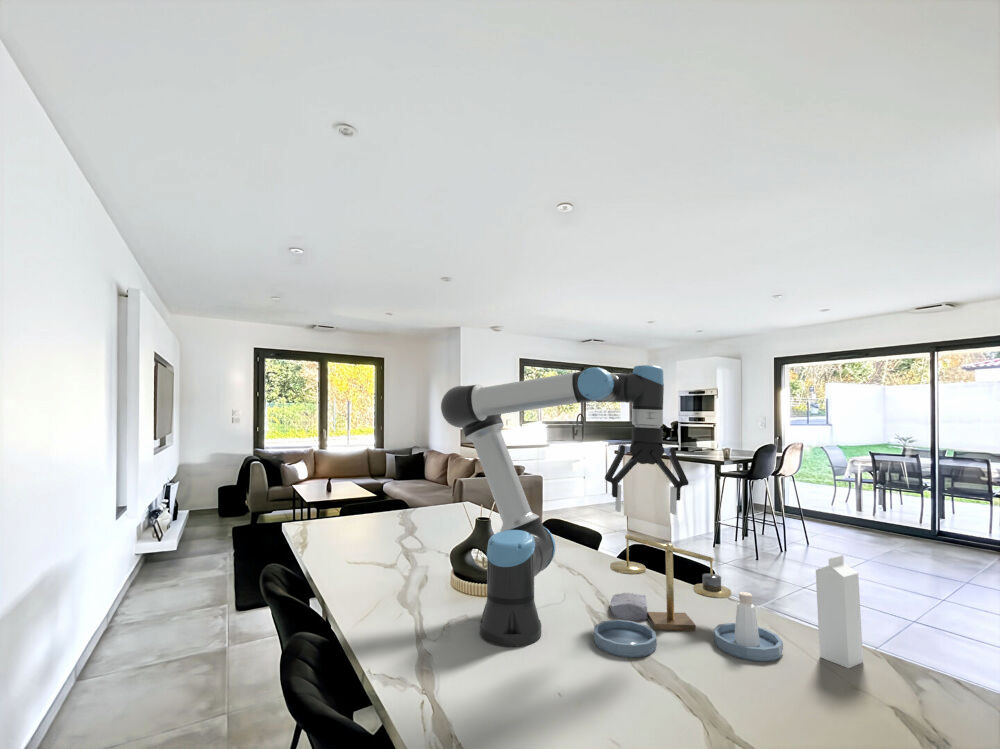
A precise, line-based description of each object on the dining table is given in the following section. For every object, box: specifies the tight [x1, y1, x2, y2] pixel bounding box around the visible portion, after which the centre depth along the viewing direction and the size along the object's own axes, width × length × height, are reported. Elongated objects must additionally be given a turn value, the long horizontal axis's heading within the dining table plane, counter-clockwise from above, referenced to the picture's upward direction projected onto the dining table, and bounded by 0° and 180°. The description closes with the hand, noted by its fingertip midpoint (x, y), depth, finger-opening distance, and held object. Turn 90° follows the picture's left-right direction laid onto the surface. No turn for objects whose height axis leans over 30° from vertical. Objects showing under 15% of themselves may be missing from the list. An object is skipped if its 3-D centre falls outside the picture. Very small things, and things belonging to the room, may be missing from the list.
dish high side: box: [593, 619, 657, 659], centre depth 118 cm, size 14×14×3 cm
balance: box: [609, 534, 732, 632], centre depth 130 cm, size 30×9×22 cm, turn 87°
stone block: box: [609, 592, 648, 621], centre depth 138 cm, size 12×5×10 cm
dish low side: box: [712, 622, 784, 663], centre depth 116 cm, size 14×14×3 cm
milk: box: [815, 554, 864, 669], centre depth 111 cm, size 6×6×22 cm
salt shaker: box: [734, 591, 760, 647], centre depth 116 cm, size 5×5×11 cm
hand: (645, 512), depth 125 cm, fingers open, 13 cm apart
